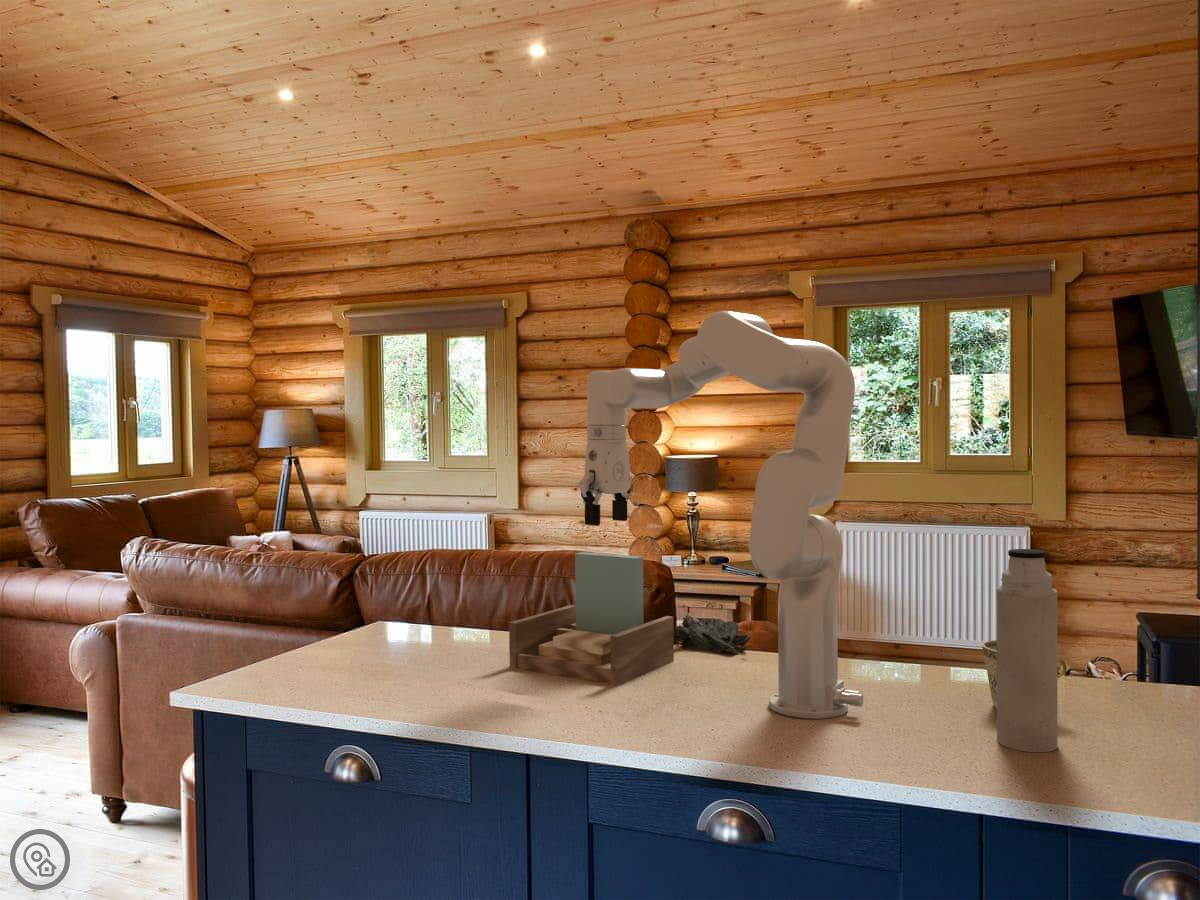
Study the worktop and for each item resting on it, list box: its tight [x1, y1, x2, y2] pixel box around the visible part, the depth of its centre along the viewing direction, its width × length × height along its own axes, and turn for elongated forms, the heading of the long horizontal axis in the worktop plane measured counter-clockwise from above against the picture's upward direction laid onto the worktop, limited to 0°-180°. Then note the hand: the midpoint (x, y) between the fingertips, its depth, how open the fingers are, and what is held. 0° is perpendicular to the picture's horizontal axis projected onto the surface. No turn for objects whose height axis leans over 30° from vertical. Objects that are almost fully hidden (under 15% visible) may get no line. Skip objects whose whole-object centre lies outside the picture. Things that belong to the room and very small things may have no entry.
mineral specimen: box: [674, 612, 751, 655], centre depth 192 cm, size 15×13×10 cm
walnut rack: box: [508, 604, 675, 687], centre depth 179 cm, size 24×20×10 cm
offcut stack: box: [539, 630, 611, 667], centre depth 176 cm, size 16×9×6 cm, turn 57°
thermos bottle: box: [996, 548, 1059, 753], centre depth 136 cm, size 8×8×28 cm
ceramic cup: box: [982, 639, 1067, 709], centre depth 152 cm, size 13×10×10 cm
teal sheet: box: [574, 551, 645, 635], centre depth 184 cm, size 14×2×20 cm, turn 57°
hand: (606, 522), depth 184 cm, fingers open, 9 cm apart
